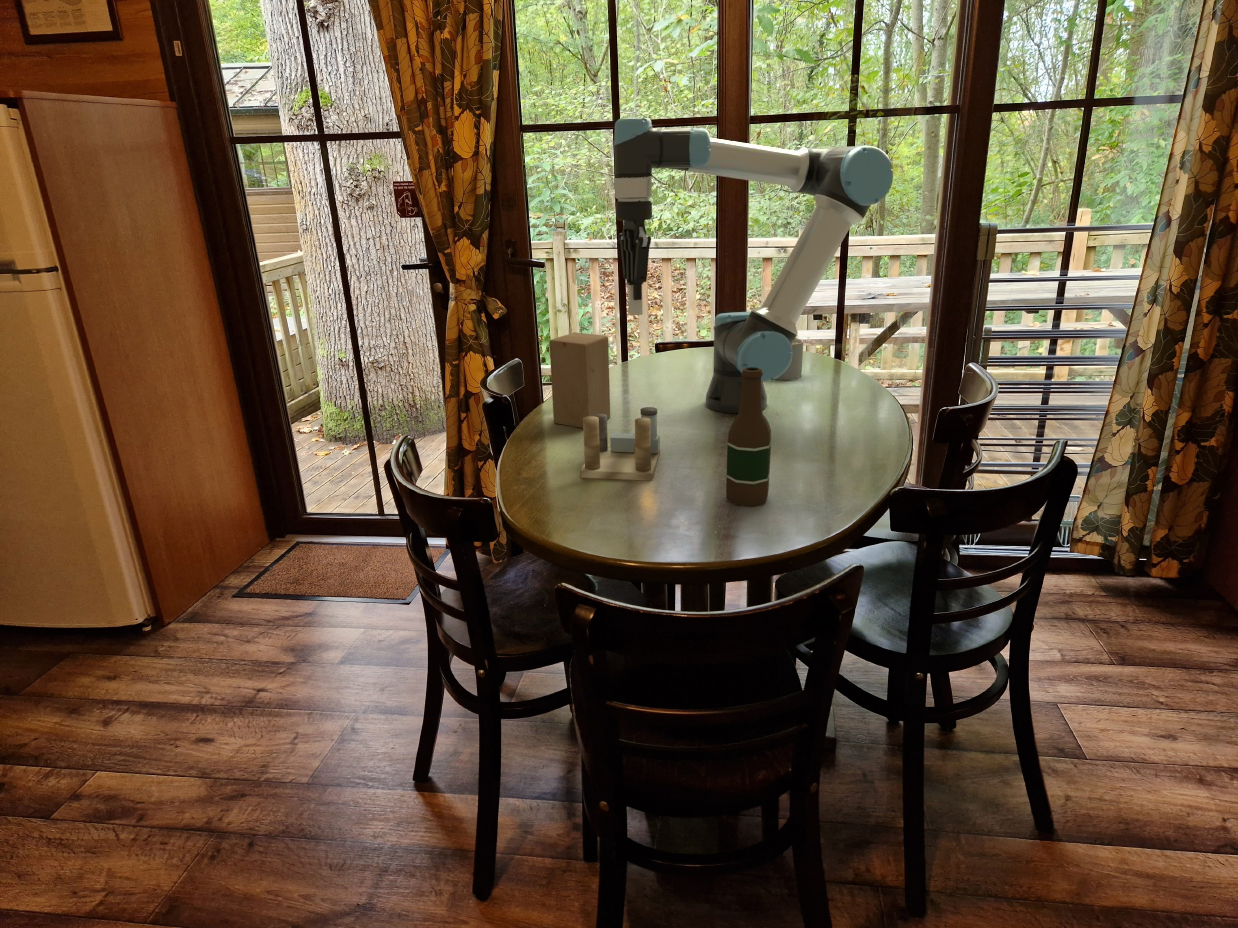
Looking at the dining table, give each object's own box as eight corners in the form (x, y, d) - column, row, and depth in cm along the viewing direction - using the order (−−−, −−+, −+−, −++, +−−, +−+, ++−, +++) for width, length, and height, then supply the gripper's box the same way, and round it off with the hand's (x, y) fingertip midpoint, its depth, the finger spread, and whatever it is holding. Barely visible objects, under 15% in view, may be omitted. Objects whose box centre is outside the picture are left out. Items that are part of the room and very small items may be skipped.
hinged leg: (657, 453, 159) (657, 412, 156) (610, 451, 161) (609, 410, 158) (660, 448, 162) (659, 407, 159) (613, 446, 164) (612, 405, 161)
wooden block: (587, 429, 181) (584, 343, 174) (552, 423, 186) (548, 339, 179) (611, 418, 189) (609, 335, 181) (577, 412, 194) (573, 331, 186)
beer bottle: (721, 491, 145) (724, 364, 136) (762, 489, 145) (768, 362, 137) (730, 508, 138) (734, 375, 129) (774, 506, 138) (781, 373, 130)
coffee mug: (799, 371, 226) (801, 337, 223) (802, 380, 217) (805, 344, 213) (752, 371, 228) (753, 337, 224) (753, 380, 219) (755, 344, 215)
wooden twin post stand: (660, 455, 164) (659, 402, 160) (652, 480, 151) (651, 423, 147) (594, 453, 166) (592, 400, 162) (580, 477, 153) (578, 421, 149)
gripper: (662, 200, 157) (663, 318, 165) (639, 198, 169) (640, 308, 177) (627, 201, 155) (629, 321, 163) (606, 199, 166) (609, 311, 175)
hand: (635, 314), depth 170 cm, fingers closed
